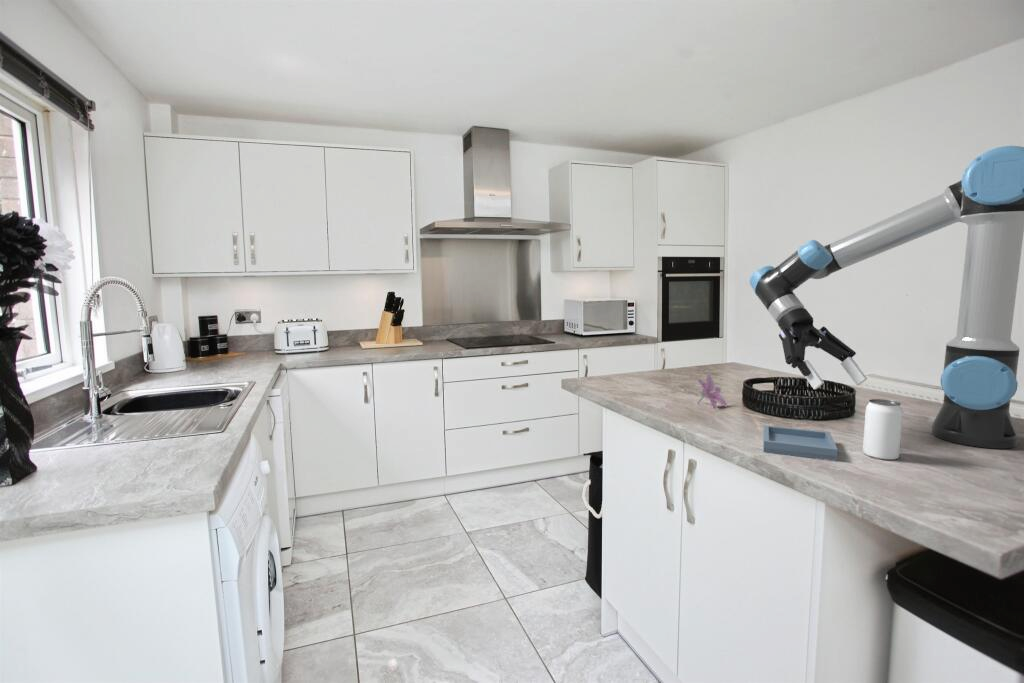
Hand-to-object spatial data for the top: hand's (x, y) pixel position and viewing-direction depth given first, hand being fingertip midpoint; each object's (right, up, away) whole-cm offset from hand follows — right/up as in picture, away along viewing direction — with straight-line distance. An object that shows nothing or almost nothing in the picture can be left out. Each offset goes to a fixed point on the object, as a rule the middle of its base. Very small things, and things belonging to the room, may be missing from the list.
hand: (841, 384), depth 119 cm
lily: (-17, -10, +37) cm, 41 cm away
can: (+4, -15, -8) cm, 17 cm away
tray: (-11, -14, -2) cm, 18 cm away
